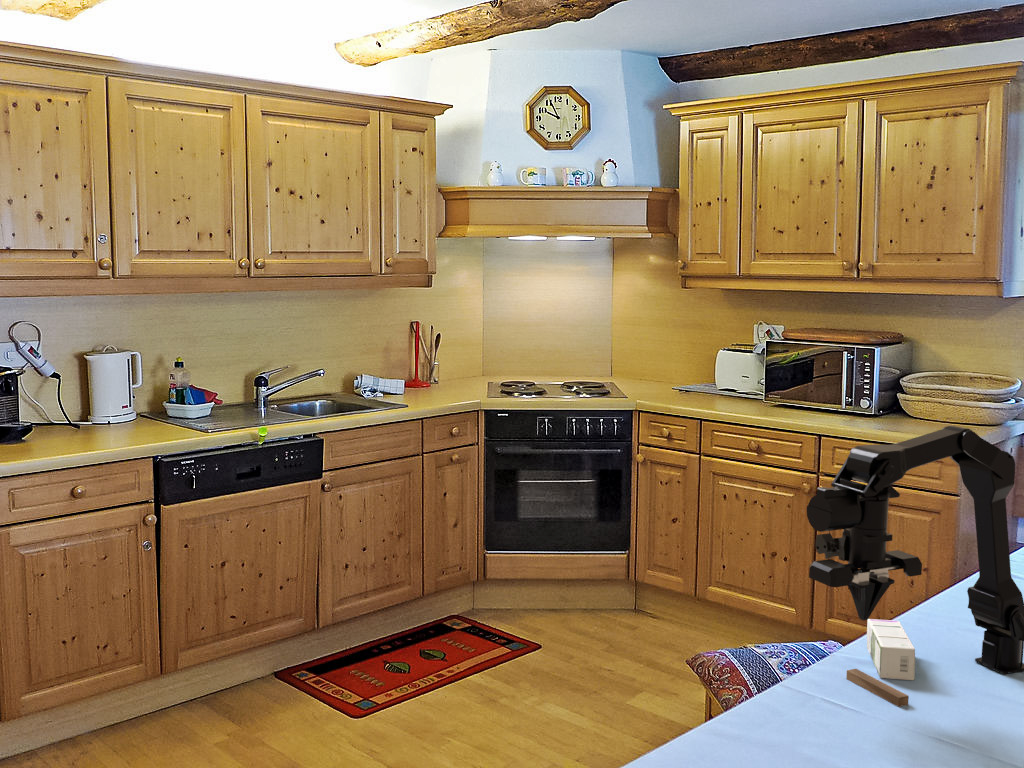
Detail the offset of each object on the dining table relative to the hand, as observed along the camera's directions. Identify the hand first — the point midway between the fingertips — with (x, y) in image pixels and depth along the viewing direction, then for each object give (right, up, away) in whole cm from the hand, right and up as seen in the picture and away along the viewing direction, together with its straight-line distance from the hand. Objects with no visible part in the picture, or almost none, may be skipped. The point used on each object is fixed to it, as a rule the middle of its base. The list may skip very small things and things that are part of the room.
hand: (863, 619), depth 168 cm
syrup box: (+8, -9, +7) cm, 14 cm away
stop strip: (+3, -13, +3) cm, 13 cm away
